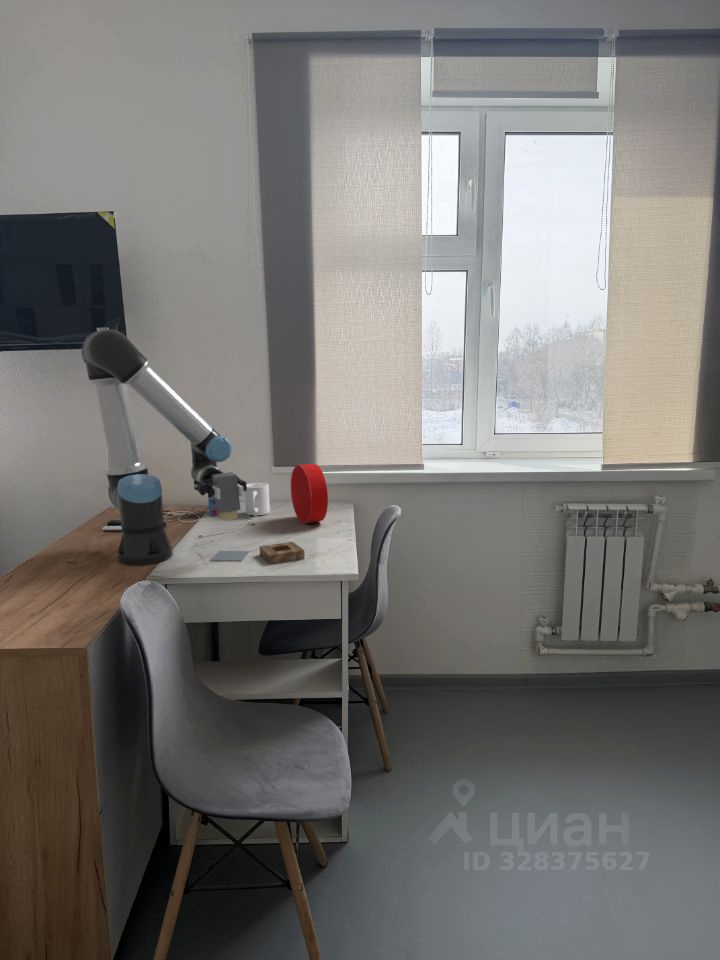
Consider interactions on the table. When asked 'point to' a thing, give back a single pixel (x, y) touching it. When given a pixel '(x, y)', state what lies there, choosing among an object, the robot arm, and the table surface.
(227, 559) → the mat
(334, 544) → the table surface
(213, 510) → the ink cartridge box
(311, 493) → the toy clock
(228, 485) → the plug
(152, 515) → the robot arm
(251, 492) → the mug
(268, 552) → the socket block
